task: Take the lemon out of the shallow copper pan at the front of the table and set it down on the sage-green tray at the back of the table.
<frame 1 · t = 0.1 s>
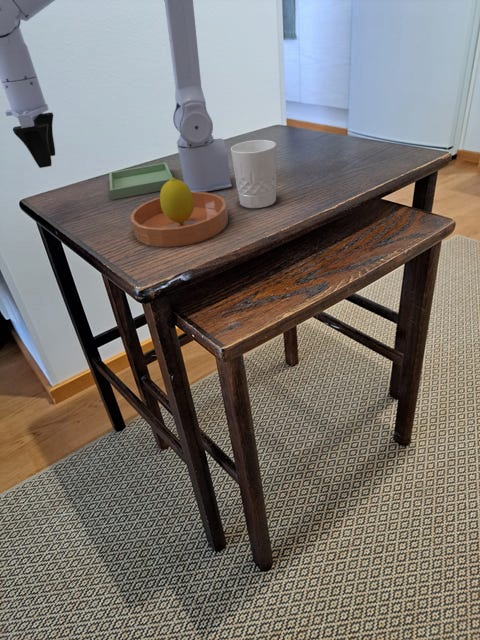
hand: (47, 161, 83), 10 cm above the table, tool pointing down, fingers open, 7 cm apart
tray: (142, 184, 99), on the table
white cup: (258, 202, 83), on the table
pan: (181, 225, 78), on the table
lemon: (181, 225, 78), resting on pan
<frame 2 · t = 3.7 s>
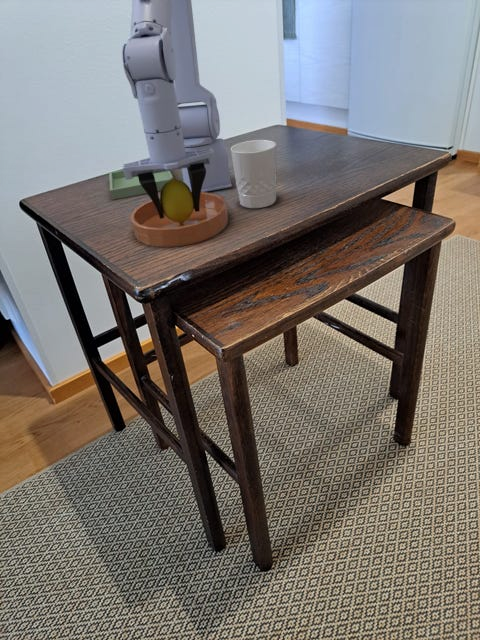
hand: (179, 213, 76), 2 cm above the table, tool pointing down, fingers closed on lemon, 5 cm apart
lemon: (181, 225, 78), resting on pan, touching gripper
everything else where it was.
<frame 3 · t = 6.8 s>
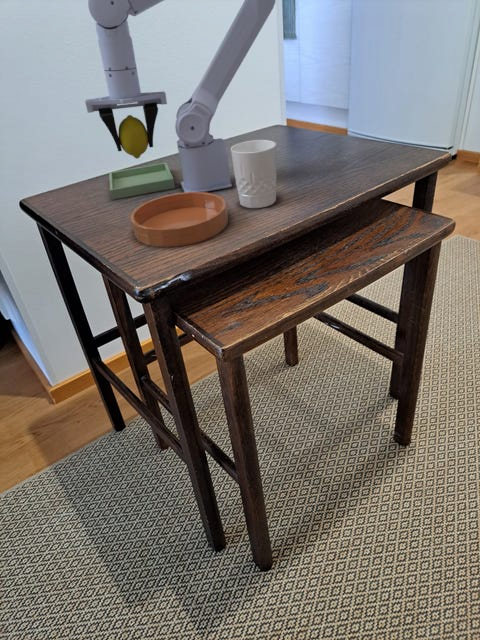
hand: (135, 148, 88), 9 cm above the table, tool pointing down, fingers closed on lemon, 5 cm apart
lemon: (137, 159, 89), point 7 cm above the table, touching gripper
everything else where it was.
when the fingers open (2 cm above the table, at t = 9.7 s): lemon stays where it is, resting on tray.
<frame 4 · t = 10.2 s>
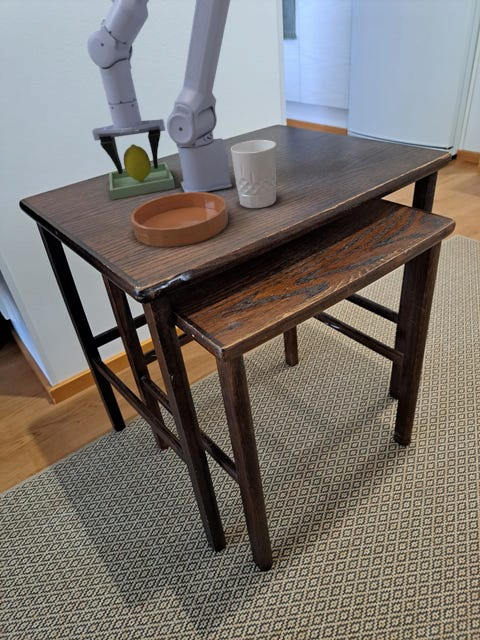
hand: (138, 170, 97), 3 cm above the table, tool pointing down, fingers open, 7 cm apart
lemon: (141, 183, 98), resting on tray
everything else where it was.
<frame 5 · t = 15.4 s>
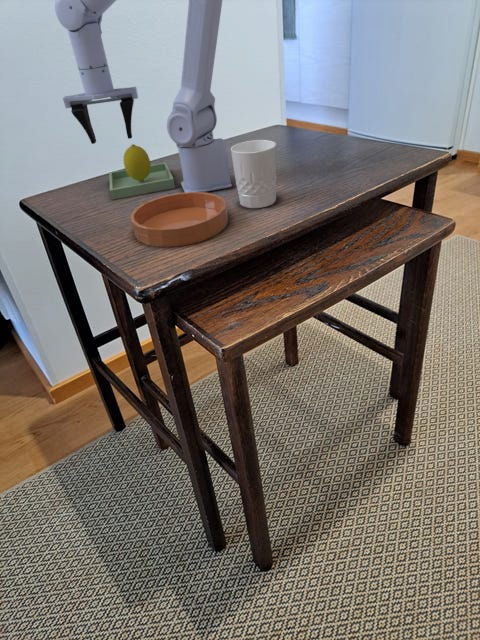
hand: (112, 140, 95), 9 cm above the table, tool pointing down, fingers open, 7 cm apart
nothing on the table moved.
at the end: lemon inside the target area on the tray (0.0 cm from its centre), point 0.3 cm above the tray's base; lemon touching tray; the gripper is holding nothing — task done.
